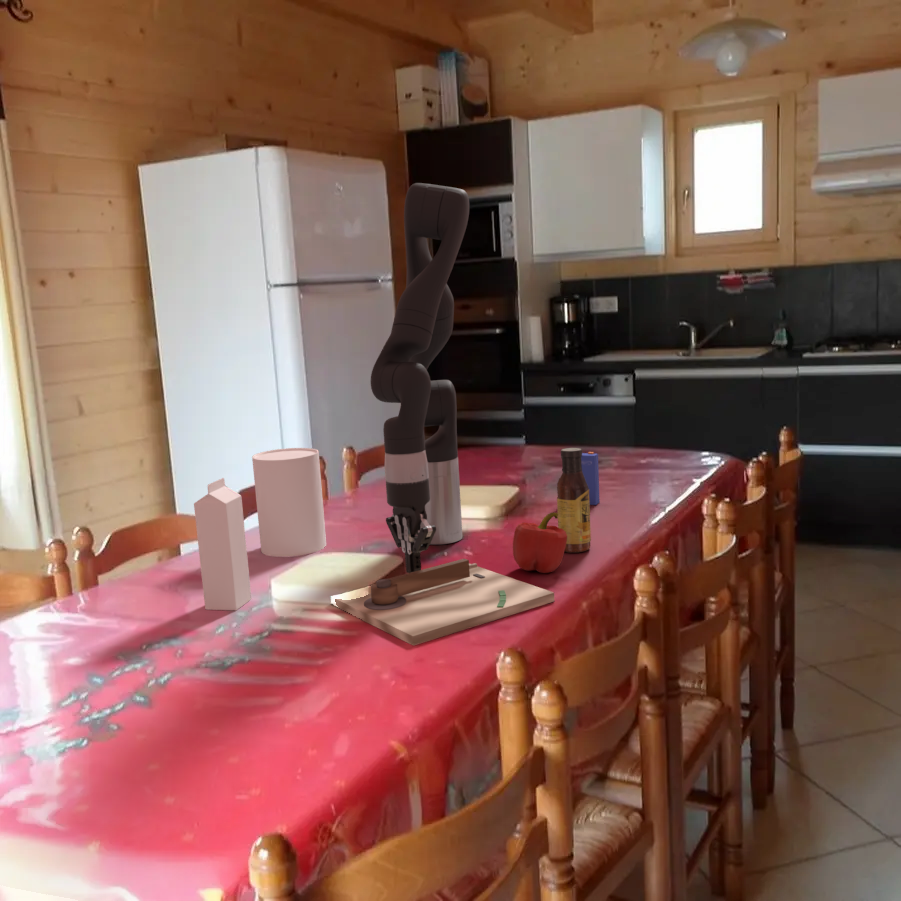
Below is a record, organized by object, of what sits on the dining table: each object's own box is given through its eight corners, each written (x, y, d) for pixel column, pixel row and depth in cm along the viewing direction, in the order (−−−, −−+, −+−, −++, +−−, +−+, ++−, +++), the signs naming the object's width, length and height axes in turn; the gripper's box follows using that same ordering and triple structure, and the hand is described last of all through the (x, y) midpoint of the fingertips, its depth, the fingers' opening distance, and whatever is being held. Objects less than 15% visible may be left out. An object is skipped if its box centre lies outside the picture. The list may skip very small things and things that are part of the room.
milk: (205, 610, 168) (190, 485, 164) (221, 598, 173) (207, 477, 170) (237, 610, 166) (223, 484, 162) (252, 598, 172) (239, 477, 168)
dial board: (330, 604, 167) (329, 594, 166) (462, 568, 182) (461, 559, 182) (413, 645, 146) (412, 634, 145) (554, 601, 161) (554, 591, 161)
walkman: (599, 502, 227) (598, 452, 225) (595, 505, 225) (594, 454, 222) (567, 500, 231) (565, 451, 228) (563, 503, 228) (561, 453, 226)
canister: (339, 544, 204) (331, 450, 201) (288, 560, 195) (279, 462, 191) (299, 535, 213) (291, 446, 210) (248, 550, 204) (238, 456, 200)
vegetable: (539, 557, 186) (536, 506, 185) (582, 566, 179) (580, 514, 177) (500, 572, 179) (497, 519, 177) (543, 582, 172) (541, 527, 170)
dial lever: (366, 599, 162) (365, 581, 161) (469, 571, 173) (468, 554, 173) (380, 606, 158) (378, 587, 157) (484, 577, 170) (483, 559, 169)
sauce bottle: (590, 554, 187) (586, 452, 183) (557, 554, 188) (553, 453, 184) (592, 544, 193) (588, 446, 189) (560, 544, 194) (556, 446, 191)
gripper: (446, 478, 166) (452, 575, 169) (404, 468, 176) (410, 561, 179) (410, 485, 161) (417, 585, 164) (368, 475, 172) (376, 570, 175)
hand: (413, 572), depth 172 cm, fingers closed
